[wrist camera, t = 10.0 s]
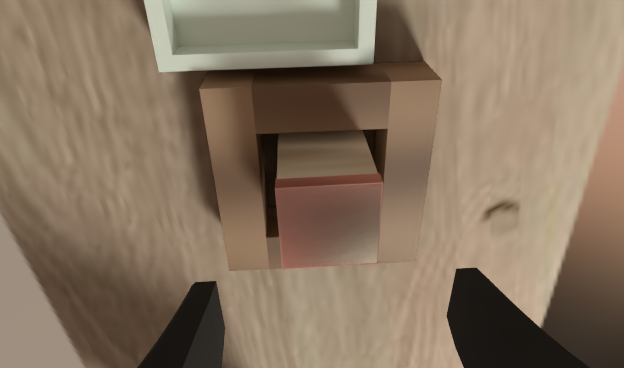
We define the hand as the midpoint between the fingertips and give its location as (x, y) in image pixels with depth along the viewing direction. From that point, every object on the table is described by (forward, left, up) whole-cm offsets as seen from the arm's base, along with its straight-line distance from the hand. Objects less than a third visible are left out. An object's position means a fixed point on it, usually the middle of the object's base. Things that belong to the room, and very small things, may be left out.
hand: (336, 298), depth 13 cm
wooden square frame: (0, 0, -9) cm, 9 cm away
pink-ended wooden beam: (0, 0, -9) cm, 9 cm away
